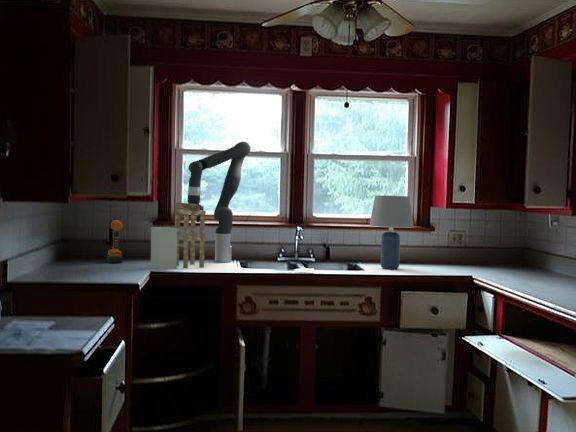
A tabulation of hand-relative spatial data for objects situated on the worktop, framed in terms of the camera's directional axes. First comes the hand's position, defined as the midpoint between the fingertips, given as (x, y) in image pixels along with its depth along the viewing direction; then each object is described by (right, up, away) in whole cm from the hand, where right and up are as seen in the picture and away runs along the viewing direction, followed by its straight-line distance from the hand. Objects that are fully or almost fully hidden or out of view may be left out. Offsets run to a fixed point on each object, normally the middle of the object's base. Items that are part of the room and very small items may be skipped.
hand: (192, 221), depth 349 cm
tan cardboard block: (0, +7, -17) cm, 18 cm away
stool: (+1, -25, -19) cm, 31 cm away
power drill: (-46, -24, -6) cm, 52 cm away
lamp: (+117, -28, -7) cm, 120 cm away
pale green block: (-12, -25, -27) cm, 38 cm away
